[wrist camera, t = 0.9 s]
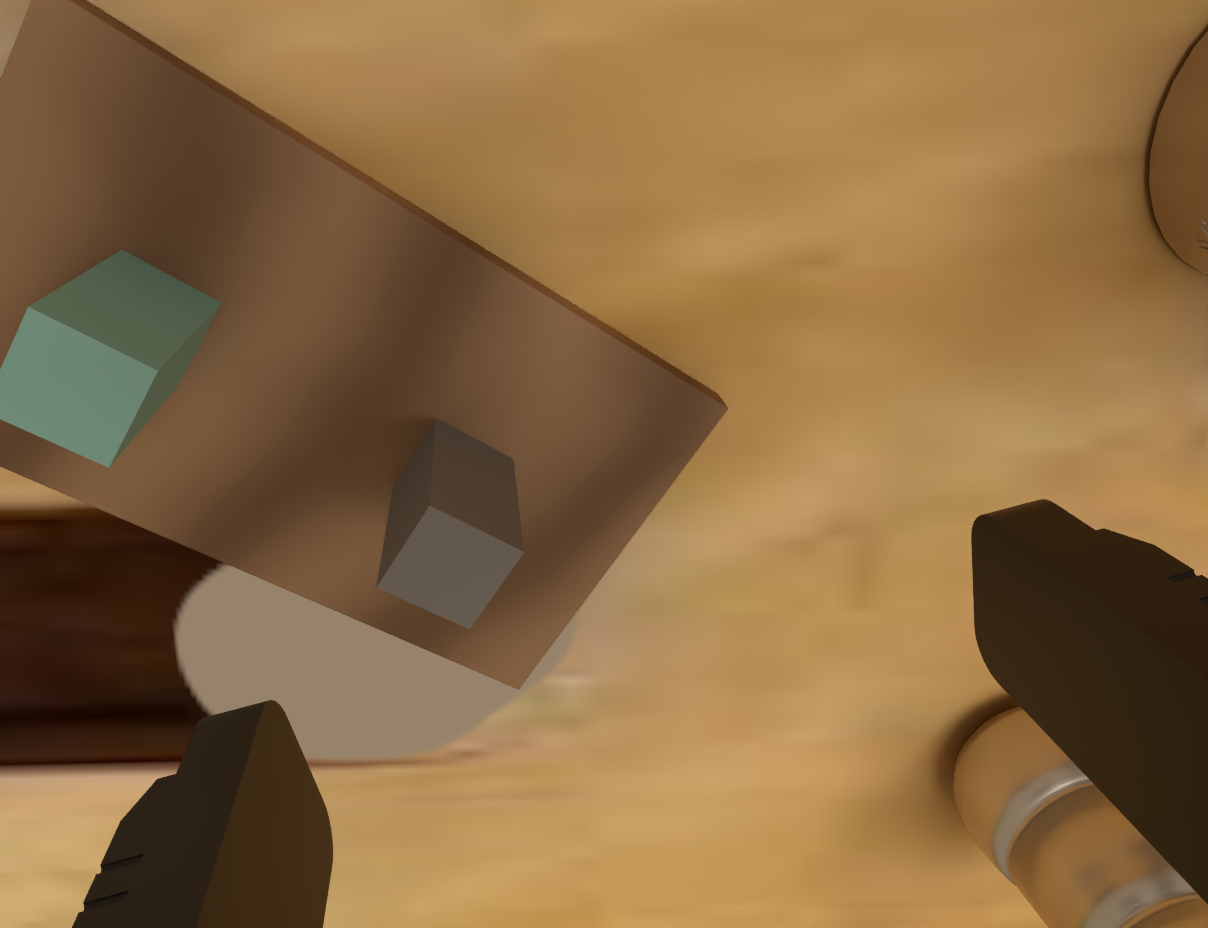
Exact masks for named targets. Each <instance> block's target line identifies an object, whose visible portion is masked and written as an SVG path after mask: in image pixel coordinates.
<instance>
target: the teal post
mask: <svg viewBox="0 0 1208 928" xmlns="http://www.w3.org/2000/svg"><path fill="white" fill-rule="evenodd" d="M220 305H221V302H219V301H217V300H215V299H214V298H212V297H210V296H208V295H206V294H204V293H202V292H200V291H199V290H197V289H195V288H193V287H191V286H189V285H187V284H186V283H184V282H182V281H180V280H178V279H176V278H174V277H172V276H171V275H169V274H167V273H165V272H163V271H161V270H159V269H157V268H156V267H154V266H152V265H150V264H148V263H146V262H144V261H143V260H141V259H139V258H137V257H135V256H133V255H131V254H129V253H128V252H126V251H124V250H120V251H119V252H117V253H116V254H114V255H112V256H111V257H109V258H107V259H106V260H104V261H102V262H101V263H99V264H98V265H96V266H94V267H93V268H91V269H89V270H88V271H86V272H84V273H83V274H81V275H79V276H78V277H76V278H75V279H73V280H71V281H70V282H68V283H66V284H65V285H63V286H61V287H60V288H58V289H56V290H55V291H53V292H52V293H50V294H48V295H47V296H45V297H43V298H42V299H40V300H38V301H37V302H35V303H33V304H32V305H30V306H29V307H28V308H27V311H26V313H25V315H24V317H23V320H22V322H21V324H20V326H19V329H18V331H17V333H16V335H15V338H14V340H13V342H12V344H11V347H10V349H9V351H8V353H7V356H6V358H5V360H4V362H3V365H2V367H1V369H0V419H1V420H3V421H5V422H8V423H10V424H12V425H14V426H17V427H19V428H21V429H23V430H26V431H28V432H30V433H32V434H34V435H37V436H39V437H41V438H43V439H46V440H48V441H50V442H52V443H55V444H57V445H59V446H61V447H63V448H66V449H68V450H70V451H72V452H75V453H77V454H79V455H81V456H84V457H86V458H88V459H90V460H92V461H95V462H97V463H99V464H101V465H104V466H106V467H108V468H109V467H110V466H111V465H112V464H113V462H114V461H115V460H116V459H117V458H118V456H119V455H120V454H121V453H122V452H123V450H124V449H125V448H126V447H127V446H128V444H129V443H130V442H131V441H132V440H133V438H134V437H135V436H136V435H137V434H138V432H139V431H140V430H141V429H142V428H143V426H144V425H145V424H146V423H147V422H148V420H149V419H150V418H151V417H152V416H153V414H154V413H155V412H156V411H157V410H158V408H159V407H160V406H161V405H162V404H163V402H164V401H165V400H166V399H167V398H168V396H169V395H170V394H171V393H172V392H173V390H174V389H175V388H176V387H177V386H178V384H179V383H180V382H181V380H182V378H183V376H184V374H185V372H186V370H187V368H188V366H189V365H190V363H191V361H192V359H193V357H194V355H195V353H196V351H197V349H198V347H199V345H200V343H201V341H202V339H203V338H204V336H205V334H206V332H207V330H208V328H209V326H210V324H211V322H212V320H213V318H214V316H215V314H216V312H217V310H218V309H219V307H220Z"/></svg>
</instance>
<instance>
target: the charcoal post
mask: <svg viewBox="0 0 1208 928" xmlns="http://www.w3.org/2000/svg"><path fill="white" fill-rule="evenodd" d="M523 553H524V546H523V537H522V529H521V520H520V512H519V503H518V494H517V486H516V477H515V468H514V460H513V458H511V457H509V456H507V455H505V454H503V453H501V452H499V451H498V450H496V449H494V448H492V447H490V446H488V445H486V444H485V443H483V442H481V441H479V440H477V439H475V438H473V437H471V436H470V435H468V434H466V433H464V432H462V431H460V430H458V429H456V428H455V427H453V426H451V425H449V424H447V423H445V422H443V421H442V420H440V419H438V418H436V419H435V421H434V422H433V424H432V426H431V427H430V429H429V430H428V432H427V433H426V435H425V437H424V438H423V440H422V441H421V443H420V445H419V446H418V448H417V449H416V451H415V453H414V454H413V456H412V457H411V459H410V460H409V462H408V464H407V465H406V467H405V468H404V470H403V472H402V473H401V475H400V476H399V478H398V480H397V481H396V483H395V484H394V486H393V488H392V494H391V500H390V506H389V513H388V519H387V525H386V531H385V537H384V543H383V550H382V556H381V562H380V568H379V574H378V580H377V587H376V588H378V589H380V590H383V591H385V592H387V593H389V594H392V595H394V596H396V597H398V598H400V599H403V600H405V601H407V602H409V603H412V604H414V605H416V606H418V607H421V608H423V609H425V610H427V611H429V612H432V613H434V614H436V615H438V616H441V617H443V618H445V619H447V620H450V621H452V622H454V623H456V624H459V625H461V626H463V627H465V628H467V629H471V627H472V626H473V624H474V623H475V621H476V620H477V619H478V617H479V616H480V614H481V613H482V611H483V610H484V609H485V607H486V606H487V604H488V603H489V602H490V600H491V599H492V597H493V596H494V594H495V593H496V592H497V590H498V589H499V587H500V586H501V584H502V583H503V582H504V580H505V579H506V577H507V576H508V575H509V573H510V572H511V570H512V569H513V567H514V566H515V565H516V563H517V562H518V560H519V559H520V557H521V556H522V555H523Z"/></svg>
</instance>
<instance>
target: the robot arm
mask: <svg viewBox="0 0 1208 928" xmlns="http://www.w3.org/2000/svg"><path fill="white" fill-rule="evenodd" d="M1149 188H1150V194H1151V200H1152V206H1153V212H1154V216H1155V218H1156V221H1157V223H1158V225H1159V227H1160V230H1161V232H1162V234H1163V237H1164V239H1165V240H1166V242H1167V243H1168V244H1169V245H1170V246H1171V248H1172V249H1173V250H1174V251H1175V253H1176V254H1177V255H1178V256H1179V257H1180V259H1182V260H1183V261H1185V262H1186V263H1188V264H1189V265H1191V266H1192V267H1194V268H1195V269H1197V270H1198V271H1200V272H1201V273H1204V274H1207V275H1208V31H1207V32H1206V33H1205V35H1204V36H1203V37H1202V38H1201V39H1200V41H1199V42H1198V43H1197V44H1196V45H1195V47H1194V48H1193V50H1192V51H1191V53H1190V55H1189V56H1188V58H1187V60H1186V61H1185V63H1184V65H1183V66H1182V68H1181V70H1180V71H1179V73H1178V75H1177V76H1176V78H1175V80H1174V81H1173V83H1172V86H1171V88H1170V91H1169V93H1168V96H1167V98H1166V100H1165V103H1164V105H1163V108H1162V110H1161V113H1160V115H1159V117H1158V122H1157V126H1156V131H1155V135H1154V139H1153V144H1152V148H1151V152H1150V174H1149ZM971 540H972V569H973V598H974V626H975V635H976V640H977V643H978V647H979V650H980V653H981V655H982V658H983V660H984V662H985V664H986V666H987V668H988V669H989V671H990V673H991V674H992V676H993V677H994V679H995V680H996V681H997V682H998V683H999V684H1000V685H1001V687H1002V688H1003V689H1004V690H1005V691H1006V692H1007V693H1008V694H1009V695H1010V696H1011V697H1012V698H1013V699H1014V700H1015V701H1016V702H1017V703H1018V705H1019V706H1020V707H1021V708H1022V709H1023V710H1024V711H1025V712H1026V713H1027V714H1028V715H1029V716H1030V717H1031V718H1032V719H1033V720H1034V721H1035V723H1036V724H1037V725H1038V726H1039V727H1040V728H1041V729H1042V730H1043V731H1044V732H1045V733H1046V734H1047V735H1048V736H1049V737H1050V738H1051V739H1052V740H1053V742H1054V743H1055V744H1056V745H1057V746H1058V747H1059V748H1060V749H1061V750H1062V751H1063V752H1064V753H1065V754H1066V755H1067V756H1068V757H1069V758H1070V760H1071V761H1072V762H1073V763H1074V764H1075V765H1076V766H1077V767H1078V768H1079V769H1080V770H1081V771H1082V772H1083V773H1084V774H1085V775H1086V776H1087V778H1088V779H1089V780H1090V781H1091V782H1092V783H1093V784H1094V785H1095V786H1096V787H1097V788H1098V789H1099V790H1100V791H1101V792H1102V793H1103V794H1104V795H1105V797H1106V798H1107V799H1108V800H1109V801H1110V802H1111V803H1112V804H1113V805H1114V806H1115V807H1116V808H1117V809H1118V810H1119V811H1120V812H1121V813H1122V815H1123V816H1124V817H1125V818H1126V819H1127V820H1128V821H1129V822H1130V823H1131V824H1132V825H1133V826H1134V827H1135V828H1136V829H1137V830H1138V831H1139V832H1140V834H1141V835H1142V836H1143V837H1144V838H1145V839H1146V840H1147V841H1148V842H1149V843H1150V844H1151V845H1152V846H1153V847H1154V848H1155V849H1156V850H1157V852H1158V853H1159V854H1160V855H1161V856H1162V857H1163V858H1164V859H1165V860H1166V861H1167V862H1168V863H1169V864H1170V865H1171V866H1172V867H1173V868H1174V870H1175V871H1176V872H1177V873H1178V874H1179V875H1180V876H1181V877H1182V878H1183V879H1184V880H1185V881H1186V882H1187V883H1188V884H1189V885H1190V886H1191V887H1192V889H1193V890H1194V891H1195V892H1196V893H1197V894H1198V895H1199V896H1200V897H1201V898H1202V899H1203V900H1204V901H1205V902H1206V903H1207V904H1208V578H1206V577H1204V576H1203V575H1200V576H1196V575H1195V573H1194V570H1193V569H1192V568H1190V567H1189V566H1187V565H1185V564H1184V563H1182V562H1181V561H1179V560H1177V559H1176V558H1174V557H1173V556H1171V555H1169V554H1168V553H1166V552H1165V551H1163V550H1161V549H1160V548H1158V547H1157V546H1155V545H1153V544H1150V543H1147V542H1144V541H1140V540H1137V539H1134V538H1131V537H1128V536H1125V535H1122V534H1119V533H1116V532H1113V531H1110V530H1107V529H1104V528H1103V529H1100V530H1094V529H1093V528H1091V527H1090V526H1088V525H1087V524H1085V523H1084V522H1082V521H1081V520H1079V519H1078V518H1076V517H1075V516H1073V515H1072V514H1070V513H1068V512H1067V511H1065V510H1064V509H1062V508H1061V507H1059V506H1058V505H1056V504H1055V503H1053V502H1051V501H1049V500H1045V499H1041V500H1037V501H1033V502H1029V503H1025V504H1022V505H1018V506H1014V507H1010V508H1006V509H1003V510H999V511H995V512H991V513H987V514H984V515H981V516H979V517H977V518H976V520H975V521H974V524H973V527H972V537H971ZM332 862H333V841H332V832H331V826H330V821H329V816H328V813H327V809H326V806H325V804H324V801H323V799H322V796H321V794H320V792H319V789H318V787H317V785H316V782H315V780H314V778H313V776H312V773H311V771H310V769H309V766H308V764H307V762H306V759H305V757H304V755H303V753H302V750H301V748H300V746H299V744H298V741H297V739H296V736H295V734H294V732H293V729H292V727H291V725H290V723H289V720H288V718H287V716H286V714H285V712H284V710H283V709H282V708H281V706H280V705H279V704H278V703H277V702H276V701H273V700H269V701H266V702H262V703H258V704H254V705H250V706H247V707H243V708H239V709H236V710H231V711H228V712H224V713H220V714H216V715H212V716H208V717H205V718H202V719H201V720H200V721H199V722H198V723H197V725H196V727H195V729H194V731H193V734H192V736H191V739H190V741H189V744H188V746H187V749H186V751H185V754H184V756H183V758H182V761H181V763H180V766H179V768H178V771H177V773H176V774H174V775H170V776H167V777H163V778H159V779H157V780H156V781H155V782H154V783H153V785H152V786H151V787H150V788H149V789H148V790H147V791H146V793H145V794H144V795H143V796H142V797H141V798H140V800H139V801H138V802H137V803H136V804H135V805H134V806H133V808H132V809H131V810H130V811H129V812H128V813H127V814H126V816H125V817H124V818H123V819H122V820H121V821H120V823H119V826H118V828H117V830H116V832H115V834H114V837H113V839H112V841H111V843H110V845H109V848H108V850H107V852H106V854H105V856H104V859H103V861H102V863H101V865H100V866H101V873H99V874H96V876H95V878H94V880H93V883H92V885H91V887H90V889H89V891H88V894H87V896H86V898H85V900H84V902H83V903H84V911H83V912H80V913H78V915H77V918H76V920H75V922H74V924H73V926H72V928H323V922H324V916H325V909H326V903H327V896H328V890H329V883H330V877H331V870H332Z"/></svg>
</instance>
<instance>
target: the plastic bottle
mask: <svg viewBox="0 0 1208 928" xmlns="http://www.w3.org/2000/svg"><path fill="white" fill-rule="evenodd" d="M953 794H954V798H955V801H956V805H957V807H958V809H959V812H960V814H961V816H962V819H963V821H964V824H965V826H966V828H967V831H968V833H969V834H970V836H971V837H972V839H973V841H974V842H975V843H976V844H977V845H978V847H979V848H980V849H981V850H982V851H983V853H984V854H985V855H986V856H987V857H988V858H989V860H990V861H991V862H992V863H993V864H994V866H995V867H996V868H997V869H998V870H999V871H1000V872H1001V873H1002V874H1003V875H1004V876H1005V877H1006V878H1007V879H1008V880H1009V881H1011V882H1012V883H1013V884H1014V885H1015V886H1017V888H1018V889H1019V890H1020V892H1021V893H1022V894H1023V895H1024V897H1025V898H1026V899H1027V901H1028V902H1029V903H1030V904H1031V906H1032V907H1033V908H1034V910H1035V911H1036V912H1037V913H1038V915H1039V916H1040V917H1041V918H1042V920H1043V921H1044V922H1045V924H1046V925H1047V926H1048V927H1049V928H1208V904H1207V903H1206V902H1205V901H1204V900H1203V899H1202V898H1201V897H1200V896H1199V895H1198V894H1197V893H1196V892H1195V891H1194V890H1193V889H1192V887H1191V886H1190V885H1189V884H1188V883H1187V882H1186V881H1185V880H1184V879H1183V878H1182V877H1181V876H1180V875H1179V874H1178V873H1177V872H1176V871H1175V870H1174V868H1173V867H1172V866H1171V865H1170V864H1169V863H1168V862H1167V861H1166V860H1165V859H1164V858H1163V857H1162V856H1161V855H1160V854H1159V853H1158V852H1157V850H1156V849H1155V848H1154V847H1153V846H1152V845H1151V844H1150V843H1149V842H1148V841H1147V840H1146V839H1145V838H1144V837H1143V836H1142V835H1141V834H1140V832H1139V831H1138V830H1137V829H1136V828H1135V827H1134V826H1133V825H1132V824H1131V823H1130V822H1129V821H1128V820H1127V819H1126V818H1125V817H1124V816H1123V815H1122V813H1121V812H1120V811H1119V810H1118V809H1117V808H1116V807H1115V806H1114V805H1113V804H1112V803H1111V802H1110V801H1109V800H1108V799H1107V798H1106V797H1105V795H1104V794H1103V793H1102V792H1101V791H1100V790H1099V789H1098V788H1097V787H1096V786H1095V785H1094V784H1093V783H1092V782H1091V781H1090V780H1089V779H1088V778H1087V776H1086V775H1085V774H1084V773H1083V772H1082V771H1081V770H1080V769H1079V768H1078V767H1077V766H1076V765H1075V764H1074V763H1073V762H1072V761H1071V760H1070V758H1069V757H1068V756H1067V755H1066V754H1065V753H1064V752H1063V751H1062V750H1061V749H1060V748H1059V747H1058V746H1057V745H1056V744H1055V743H1054V742H1053V740H1052V739H1051V738H1050V737H1049V736H1048V735H1047V734H1046V733H1045V732H1044V731H1043V730H1042V729H1041V728H1040V727H1039V726H1038V725H1037V724H1036V723H1035V721H1034V720H1033V719H1032V718H1031V717H1030V716H1029V715H1028V714H1027V713H1026V712H1025V711H1024V710H1023V709H1022V708H1021V707H1020V706H1019V707H1015V708H1012V709H1009V710H1007V711H1004V712H1002V713H1000V714H998V715H996V716H995V717H993V718H991V719H990V720H988V721H987V722H985V723H984V724H983V725H982V726H980V727H979V728H978V729H977V730H976V731H975V732H974V733H973V734H972V735H971V736H970V737H969V738H968V740H967V741H966V743H965V744H964V746H963V747H962V749H961V751H960V753H959V755H958V757H957V761H956V765H955V771H954V781H953Z"/></svg>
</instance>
